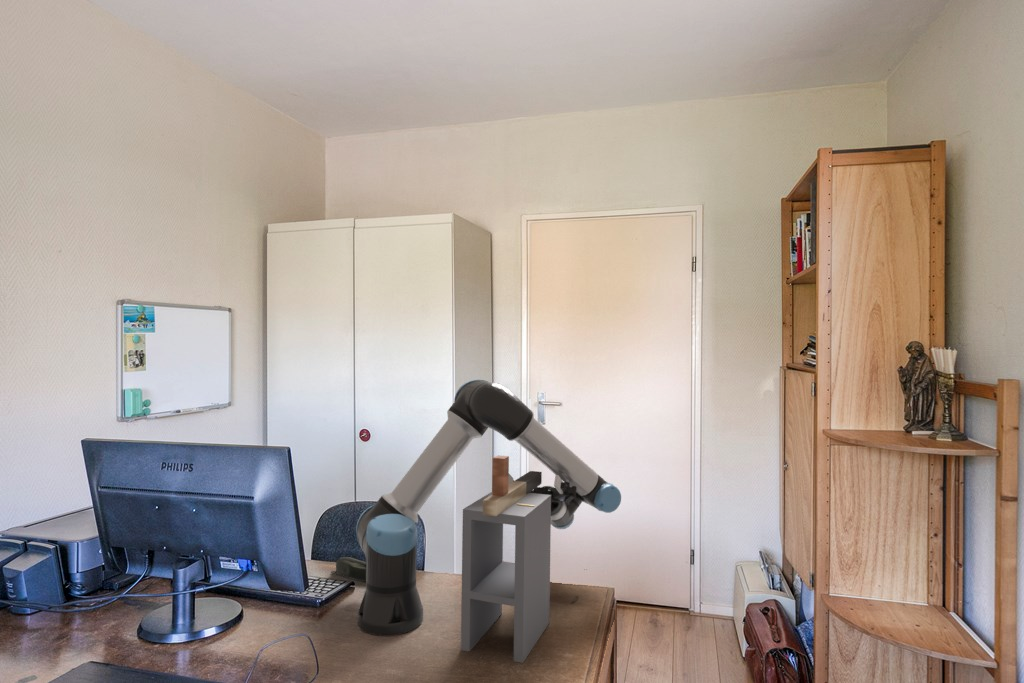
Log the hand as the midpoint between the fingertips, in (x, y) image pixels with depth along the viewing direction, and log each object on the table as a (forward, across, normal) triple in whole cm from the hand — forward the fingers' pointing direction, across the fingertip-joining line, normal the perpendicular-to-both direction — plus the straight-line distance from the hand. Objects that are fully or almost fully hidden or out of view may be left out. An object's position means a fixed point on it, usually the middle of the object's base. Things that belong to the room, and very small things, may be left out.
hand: (529, 477), depth 146 cm
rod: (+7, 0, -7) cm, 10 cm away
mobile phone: (-18, +51, -28) cm, 61 cm away
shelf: (-5, 0, -35) cm, 35 cm away
